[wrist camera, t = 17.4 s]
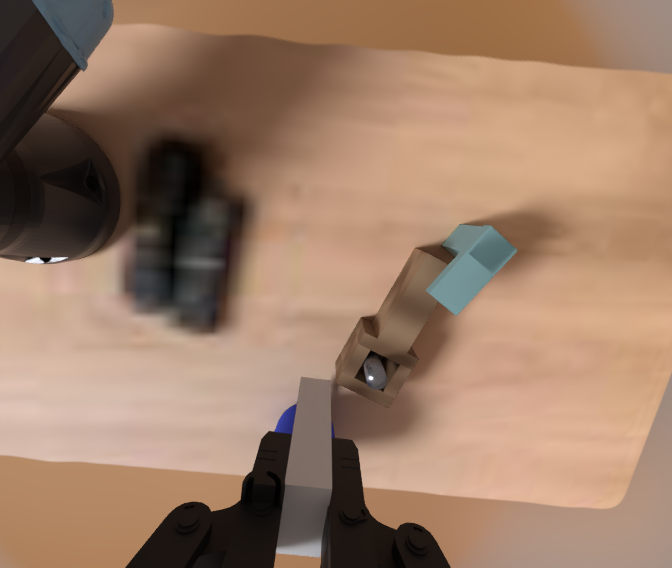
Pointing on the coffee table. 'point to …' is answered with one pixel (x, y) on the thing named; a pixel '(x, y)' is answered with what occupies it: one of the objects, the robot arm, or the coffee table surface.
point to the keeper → (470, 265)
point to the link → (392, 331)
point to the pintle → (374, 371)
